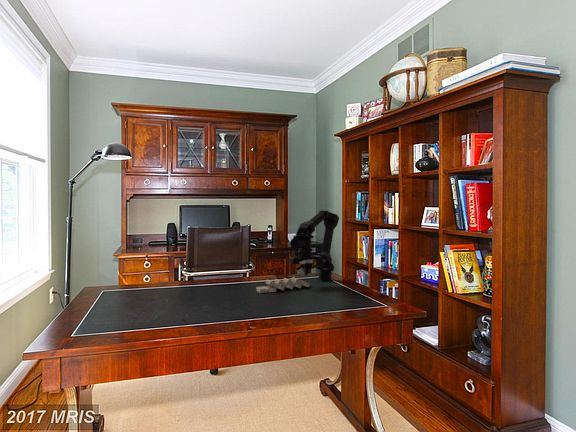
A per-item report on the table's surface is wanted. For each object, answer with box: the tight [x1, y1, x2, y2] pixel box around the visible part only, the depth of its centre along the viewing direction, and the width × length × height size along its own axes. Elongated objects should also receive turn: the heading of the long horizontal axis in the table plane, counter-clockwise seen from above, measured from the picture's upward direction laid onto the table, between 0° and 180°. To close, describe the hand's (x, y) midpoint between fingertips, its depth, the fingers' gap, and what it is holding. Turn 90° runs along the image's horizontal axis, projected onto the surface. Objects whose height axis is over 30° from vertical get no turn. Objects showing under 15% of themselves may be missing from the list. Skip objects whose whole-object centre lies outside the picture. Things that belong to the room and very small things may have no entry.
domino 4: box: [282, 277, 303, 289], centre depth 206 cm, size 2×5×9 cm
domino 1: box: [255, 285, 277, 294], centre depth 199 cm, size 2×5×9 cm
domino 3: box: [274, 278, 295, 290], centre depth 203 cm, size 2×5×9 cm
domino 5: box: [291, 276, 311, 288], centre depth 208 cm, size 2×5×9 cm
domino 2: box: [265, 279, 286, 291], centre depth 201 cm, size 2×5×9 cm
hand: (305, 275), depth 209 cm, fingers closed
